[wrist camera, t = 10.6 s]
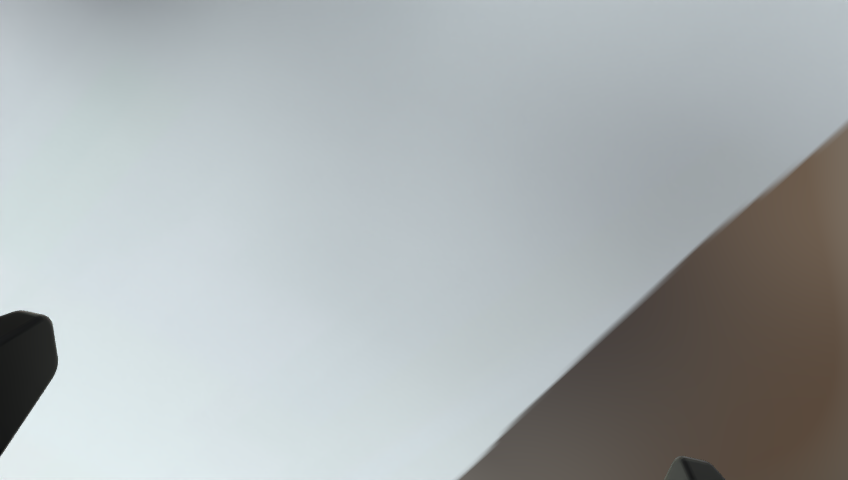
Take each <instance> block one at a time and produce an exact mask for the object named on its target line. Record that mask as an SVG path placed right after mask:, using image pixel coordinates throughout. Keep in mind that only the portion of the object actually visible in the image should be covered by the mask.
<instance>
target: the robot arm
mask: <svg viewBox="0 0 848 480" xmlns="http://www.w3.org/2000/svg"><path fill="white" fill-rule="evenodd" d="M57 365H58V356H57V349H56V343H55V336H54V330H53V324H52V321H51V320H50V319H49V317H47V316H45V315H42V314H37V313H33V312H28V311H21V310H20V311H15V312H11V313H8V314H5V315H2V316H0V456H1V455H2V453H3V452H4V450H5V449H6V447H7V446H8V444H9V443H10V441H11V440H12V438H13V437H14V435H15V434H16V432H17V431H18V429H19V428H20V426H21V425H22V423H23V422H24V420H25V419H26V417H27V416H28V414H29V413H30V411H31V410H32V408H33V407H34V405H35V404H36V402H37V401H38V399H39V398H40V396H41V395H42V393H43V392H44V390H45V389H46V387H47V386H48V384H49V383H50V381H51V380H52V378H53V376H54V375H55V372H56V369H57ZM664 480H725V479H724V478H723V477H722V475H721V474H720V473H719V472H718V471H717V470H716V469H715V468H714V466H712V465H711V464H710V463H709V462H706V461H704V460H699V459H695V458H690V457H685V456H679V457H677V458H676V459H675V460H674V462H673V463H672V465H671V467H670V469H669V471H668V473H667V475H666V477H665V479H664Z"/></svg>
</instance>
